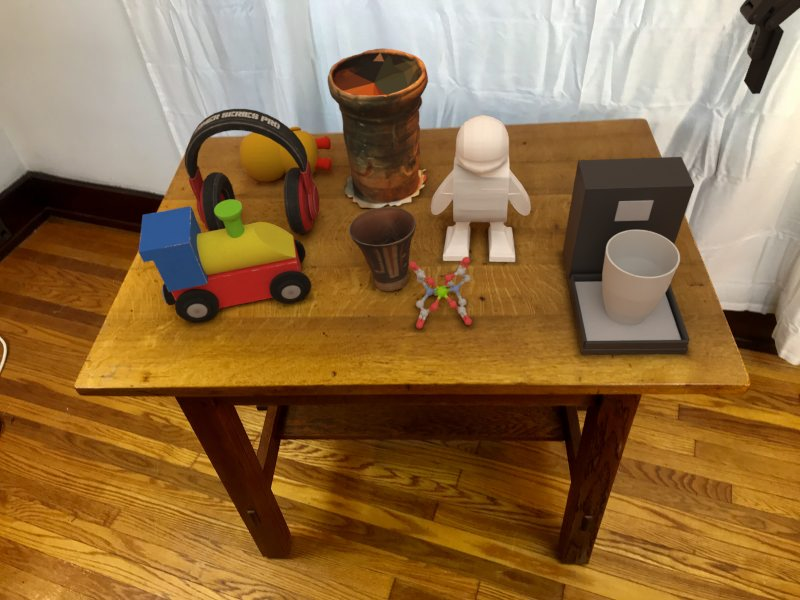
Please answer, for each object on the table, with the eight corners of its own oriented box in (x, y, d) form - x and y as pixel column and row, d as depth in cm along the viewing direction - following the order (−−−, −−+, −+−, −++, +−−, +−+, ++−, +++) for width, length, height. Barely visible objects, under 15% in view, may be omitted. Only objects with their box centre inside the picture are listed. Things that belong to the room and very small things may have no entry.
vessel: (433, 210, 97) (429, 92, 82) (342, 215, 98) (322, 99, 83) (430, 157, 107) (426, 43, 92) (348, 161, 107) (330, 49, 93)
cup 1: (389, 246, 92) (383, 191, 85) (432, 274, 87) (430, 219, 80) (344, 277, 88) (333, 223, 81) (387, 309, 84) (380, 255, 76)
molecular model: (411, 290, 86) (407, 251, 80) (468, 286, 85) (469, 246, 80) (413, 330, 81) (410, 291, 75) (474, 326, 80) (475, 286, 75)
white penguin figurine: (430, 260, 89) (424, 140, 75) (434, 220, 95) (429, 101, 81) (528, 262, 88) (542, 139, 73) (525, 221, 94) (538, 100, 79)
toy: (332, 135, 108) (246, 139, 108) (327, 116, 100) (233, 121, 99) (334, 186, 107) (247, 190, 107) (329, 171, 99) (235, 175, 99)
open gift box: (686, 354, 75) (728, 258, 64) (581, 355, 76) (604, 261, 64) (651, 252, 87) (681, 156, 76) (562, 254, 88) (577, 160, 77)
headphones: (324, 205, 100) (301, 90, 85) (319, 247, 93) (293, 130, 78) (217, 211, 101) (176, 98, 86) (204, 253, 94) (157, 138, 79)
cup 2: (673, 322, 77) (695, 264, 70) (617, 343, 75) (634, 286, 68) (633, 279, 82) (650, 222, 75) (580, 299, 81) (592, 241, 73)
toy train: (171, 286, 89) (130, 204, 78) (308, 259, 91) (287, 175, 80) (168, 332, 83) (124, 251, 72) (315, 302, 85) (293, 218, 74)
